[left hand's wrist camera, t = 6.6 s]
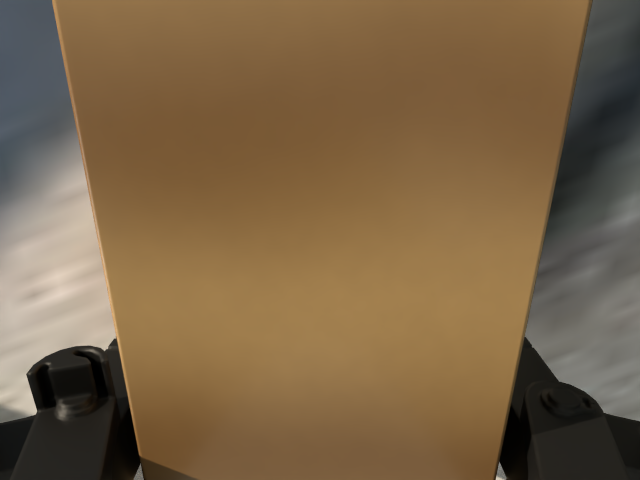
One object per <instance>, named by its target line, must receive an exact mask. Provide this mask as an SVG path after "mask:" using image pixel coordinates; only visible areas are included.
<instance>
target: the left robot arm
mask: <svg viewBox="0 0 640 480" xmlns="http://www.w3.org/2000/svg"><path fill="white" fill-rule="evenodd" d="M26 375H27V378H28V381H29V385H30V388H31V391H32V395H33V398H34V401H35V405H36V408H37V413H36V415H34V416H30V417H27V418H22V419H18V420H13V421H9V422H4V423H0V480H134V477H135V474H136V472H137V470H138V468H139V465H140V463H141V462H140V457H139V452H138V446H137V441H136V436H135V431H134V425H133V420H132V415H131V410H130V405H129V399H128V394H127V389H126V384H125V378H124V373H123V368H122V363H121V358H120V352H119V347H118V342H117V337H116V339H114V340H113V341H112V342H111V344H110V345H109V346H108V349H106V351H104V350H102V349H101V348H98V347H93V346H75V347H71V348H67V349H63V350H60V351H57V352H55V353H53V354H50V355H48V356H46V357H44V358H43V359H41V360H40V361H39V362H37V363H36V364H34V365H33V366H32V368H31V369H30V370H29V371H28V373H27V374H26ZM499 462H500V464H501V466H502V468H503V471H504V473H505V475H506V477H507V478H506V480H640V421H635V420H631V419H626V418H622V417H617V416H613V415H609V414H606V413H603V410H602V409H601V407H600V406H599V404H598V403H597V402H596V400H594V399H593V398H592V397H591V396H589V395H588V394H587V393H586V392H584V391H582V390H580V389H578V388H576V387H574V386H572V385H570V384H566V383H562V382H559V381H558V380H557V378H556V377H555V376H554V374H553V373H552V372H551V370H550V369H549V368H548V366H547V365H546V364H545V362H544V361H543V360H542V358H541V357H540V356H539V354H538V353H537V352H536V350H535V349H534V348H532V345H531V344H530V342H529V341H528V340H527V338H526V337H524V341H523V346H522V351H521V356H520V361H519V366H518V371H517V376H516V381H515V386H514V391H513V396H512V401H511V406H510V410H509V415H508V420H507V425H506V430H505V435H504V440H503V445H502V450H501V455H500V460H499Z"/></svg>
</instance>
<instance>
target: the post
mask: <svg viewBox="0 0 640 480" xmlns="http://www.w3.org/2000/svg"><path fill="white" fill-rule="evenodd" d="M592 1H593V0H52V2H53V8H54V13H55V18H56V23H57V28H58V34H59V39H60V44H61V49H62V55H63V60H64V65H65V70H66V75H67V81H68V86H69V91H70V96H71V102H72V107H73V112H74V117H75V122H76V128H77V133H78V138H79V143H80V149H81V154H82V159H83V164H84V169H85V175H86V180H87V185H88V190H89V196H90V201H91V206H92V211H93V217H94V222H95V227H96V232H97V237H98V243H99V248H100V253H101V258H102V264H103V269H104V274H105V279H106V284H107V290H108V295H109V300H110V305H111V311H112V316H113V321H114V326H115V331H116V337H117V342H118V347H119V352H120V358H121V363H122V368H123V373H124V378H125V384H126V389H127V394H128V399H129V405H130V410H131V415H132V420H133V425H134V431H135V436H136V441H137V446H138V452H139V457H140V462H141V467H142V472H143V478H144V480H496V475H497V470H498V465H499V460H500V455H501V450H502V445H503V440H504V435H505V430H506V425H507V420H508V415H509V410H510V406H511V401H512V396H513V391H514V386H515V381H516V376H517V371H518V366H519V361H520V356H521V351H522V346H523V341H524V337H525V332H526V327H527V322H528V317H529V312H530V307H531V302H532V297H533V292H534V287H535V282H536V277H537V272H538V267H539V263H540V258H541V253H542V248H543V243H544V238H545V233H546V228H547V223H548V218H549V213H550V208H551V203H552V198H553V193H554V189H555V184H556V179H557V174H558V169H559V164H560V159H561V154H562V149H563V144H564V139H565V134H566V129H567V124H568V119H569V115H570V110H571V105H572V100H573V95H574V90H575V85H576V80H577V75H578V70H579V65H580V60H581V55H582V50H583V45H584V41H585V36H586V31H587V26H588V21H589V16H590V11H591V6H592Z"/></svg>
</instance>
